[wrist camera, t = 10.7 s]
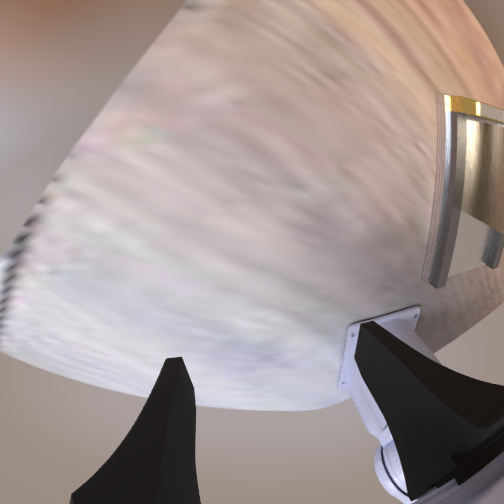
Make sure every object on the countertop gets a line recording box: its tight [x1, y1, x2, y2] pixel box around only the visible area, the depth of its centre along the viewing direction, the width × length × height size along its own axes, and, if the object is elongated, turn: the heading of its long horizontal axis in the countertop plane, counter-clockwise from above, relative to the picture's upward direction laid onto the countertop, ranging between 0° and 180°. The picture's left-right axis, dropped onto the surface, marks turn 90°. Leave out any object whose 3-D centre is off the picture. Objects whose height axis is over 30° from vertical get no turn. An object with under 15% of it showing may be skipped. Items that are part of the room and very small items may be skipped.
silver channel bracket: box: [421, 93, 504, 289], centre depth 19 cm, size 16×11×3 cm
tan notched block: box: [466, 121, 504, 234], centre depth 16 cm, size 8×4×5 cm, turn 6°
